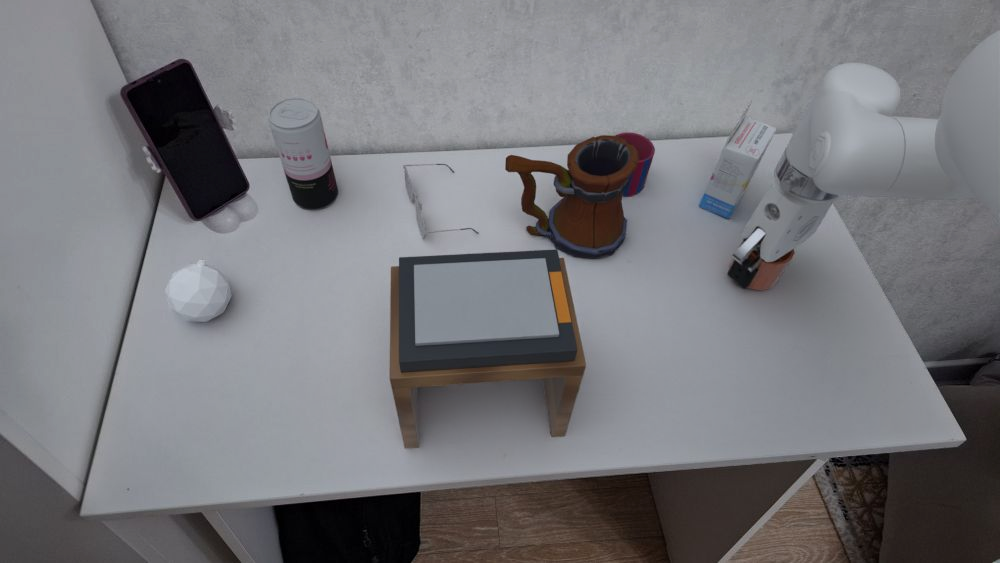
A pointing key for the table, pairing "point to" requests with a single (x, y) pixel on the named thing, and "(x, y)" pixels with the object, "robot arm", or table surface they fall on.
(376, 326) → the table surface
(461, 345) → the scale
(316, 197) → the beverage can
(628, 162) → the mug
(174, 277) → the ornament
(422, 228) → the eyeglasses
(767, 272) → the flower pot
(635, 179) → the cup
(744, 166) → the ink box
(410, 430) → the stand
